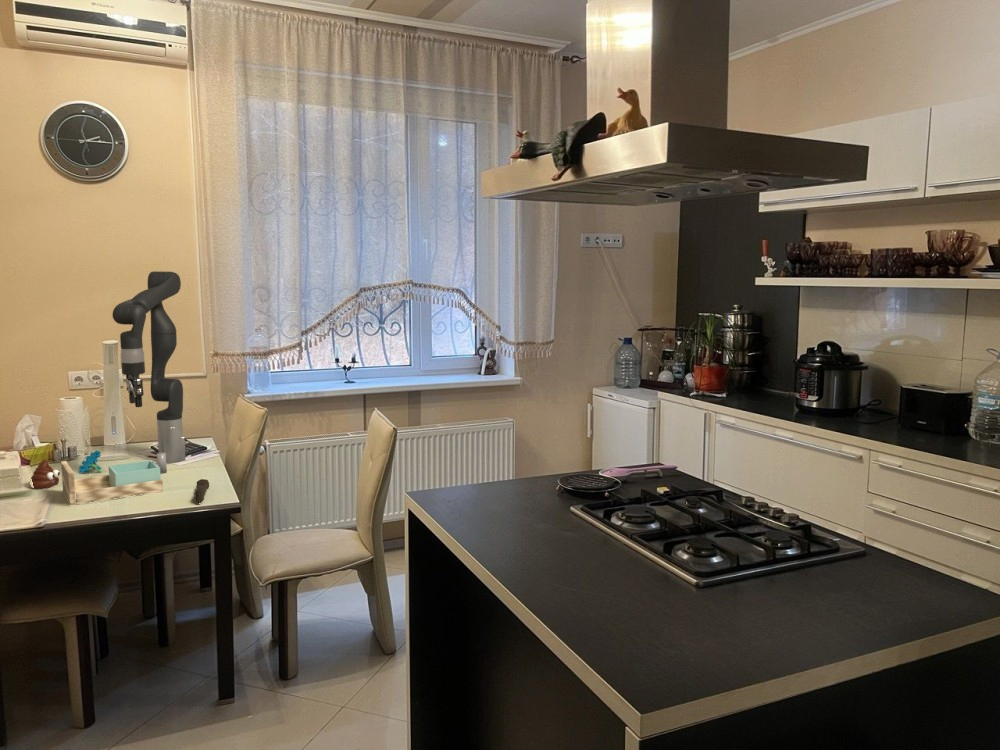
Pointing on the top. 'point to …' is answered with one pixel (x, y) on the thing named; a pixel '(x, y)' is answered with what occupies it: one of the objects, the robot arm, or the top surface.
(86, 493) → the bay
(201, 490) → the dark brown lumpy rod
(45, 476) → the poop emoji
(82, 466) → the gear
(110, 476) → the crate
